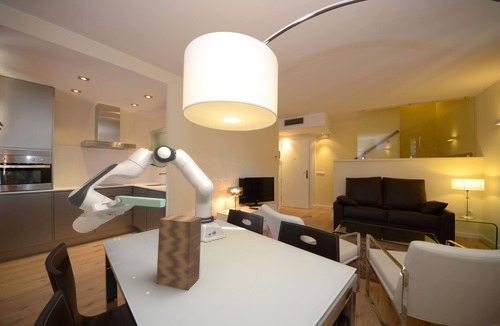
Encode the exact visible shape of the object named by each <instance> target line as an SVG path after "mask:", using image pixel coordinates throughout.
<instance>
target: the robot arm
mask: <svg viewBox="0 0 500 326" xmlns="http://www.w3.org/2000/svg"><path fill="white" fill-rule="evenodd" d="M169 164H172V165H174V167H175V168H176V169H177V170H178V171H179V172H180V173H181V174H182V176H183V177H184V178H185V179H186V181H187V182H188V184H189V185H191V187H192V188H193V189H194V191H195V192H194V193H195V194H194V196H195V197H194V198H195V199H194V200H195V201H194V216H193V217H201V242H204V243H208V242H213V241H216V240H219V239H225V238H226V237H227V236H226V233H225V232H223V228H222V226H221V224H219V223H217V221H216V220H217V218H218V217H216V216H214V215H213V214H212V213H213V201H212V194H213V192H214V190H215V185H214V183H213V181H212V180H211V179H210V178H209V177H208V176H207V175H206V174H205V173H204V171H203V170H202V168H200V167H199V165H198V164H197V163H196V162H195V161H194V159H193V158H192V157H191V156H190V155H189V154H188V153H187V152H186V151H184V150H183V149H180V148H179V149H174V148H171V147H170V146H168V145H164V144H162V145H158V146H157V147H155V149H154V150H153V151H152V150H149V149H147V148H145V147H139V148H138V149H136V150H134V151H133V153H131V154H130V155H129V156H128V157H127V158H126V159H125V160H123V161H122V162H120V163H113V164H110V165H108V166H107V167H105V168H104V169H103V170H101V171H100V172H99V173H97V174H96V175H94V176H93V177H92V178H90V179H89V180H87V181H86V182H85V183H83V184H82V185H80V186H79V187H77V188H75V189H73V191H71V192H70V193H69V195H68V196H67V202H68V204H69V206H72V207H74V208H76V209H80V210H82V211H83V213H81V214H80V216H78V217H77V218H76V219H75V220H74V221H73V223H72V229H73V230H74V231H76V232H77V233H80V234H86V233H89V232H91V231H93V230H96V229H97V228H99V227H100V226H101V225H103V224H105V223H107V222H108V221H111V220H112V219H114V218H117V217H120V216H122V215H124V214H125V212H128V211H129V210H131V209H132V208H133V207H135V206H136V205H127V204H118V203H121V202H122V200H121V198H118V199H116V200H115V199H114V200H113V199H111V198H110V197H107V195H103V194H101V193H99V192H98V191H96V190H95V188H96V187H98V186H99V185H100V184H102V183H103V182H104V181H105V180H107V179H108V178H111V177H117V178H121V179H127V180H128V179H129V180H133V179H136V178H139V177H140V176H141V175H142V174H143V173H144V172H145V170H146V169H147V168H148V167H149V166H153V167H156V168H165V167H167V166H168V165H169Z"/></svg>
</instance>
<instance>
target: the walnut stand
mask: <svg viewBox="0 0 500 326" xmlns="http://www.w3.org/2000/svg"><path fill="white" fill-rule="evenodd" d="M158 221H159V222H158V223H159V225H158V242H157V243H158V245H157V261H156V262H157V263H156V265H157V267H156V280H155V281H156V282H155V283H156V284H157V285H160V286H167V287H171V288H175V289H180V290H184V291H189V290H190V289H191V288H192V287H193V285H195V284H196V283H197V282H198V281H199V279H200V270H201V268H200V267H201V262H200V261H201V243H202V241H201V217H194V216H191V215H180V214H170V215H168V216H164V217H162V218H159V219H158Z"/></svg>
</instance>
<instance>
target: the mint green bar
mask: <svg viewBox="0 0 500 326" xmlns="http://www.w3.org/2000/svg"><path fill="white" fill-rule="evenodd" d="M118 198H121V200H122V202H121V203H118V204H127V205H135V206H138V207H139V206H140V207H150V208H151V207H153V208H165V207H166V198H156V197H155V198H154V197H143V196H129V195H117V196H115V197H114V200H116V199H118Z"/></svg>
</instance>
